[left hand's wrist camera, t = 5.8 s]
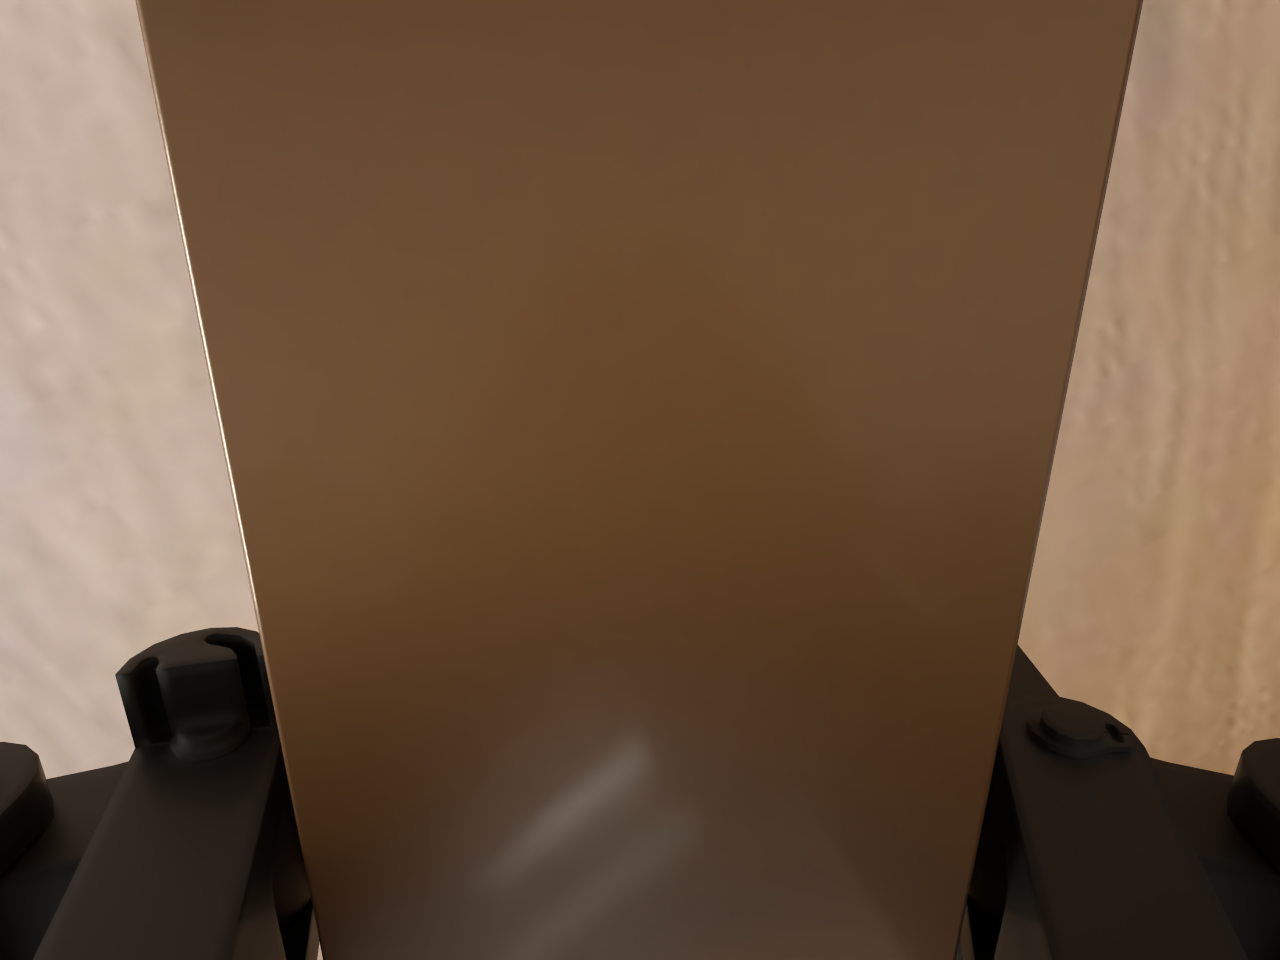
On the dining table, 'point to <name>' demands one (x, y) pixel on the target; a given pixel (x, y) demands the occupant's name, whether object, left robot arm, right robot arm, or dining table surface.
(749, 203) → the bar
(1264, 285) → the dining table surface
